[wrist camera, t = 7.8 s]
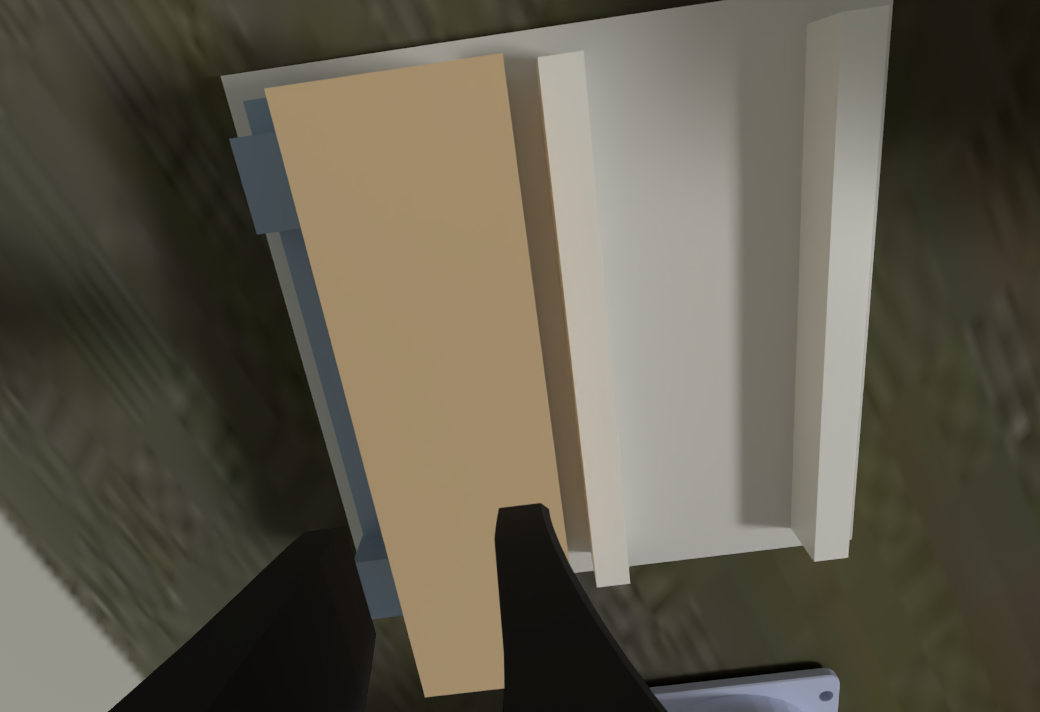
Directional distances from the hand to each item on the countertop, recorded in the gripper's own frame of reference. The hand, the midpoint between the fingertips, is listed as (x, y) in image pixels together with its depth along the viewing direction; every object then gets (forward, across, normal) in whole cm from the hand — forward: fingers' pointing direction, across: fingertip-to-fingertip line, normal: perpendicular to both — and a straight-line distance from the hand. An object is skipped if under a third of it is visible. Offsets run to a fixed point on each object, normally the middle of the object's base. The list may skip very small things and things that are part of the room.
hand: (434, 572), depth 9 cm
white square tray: (+9, -3, 0) cm, 10 cm away
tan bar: (+9, 0, 0) cm, 9 cm away
